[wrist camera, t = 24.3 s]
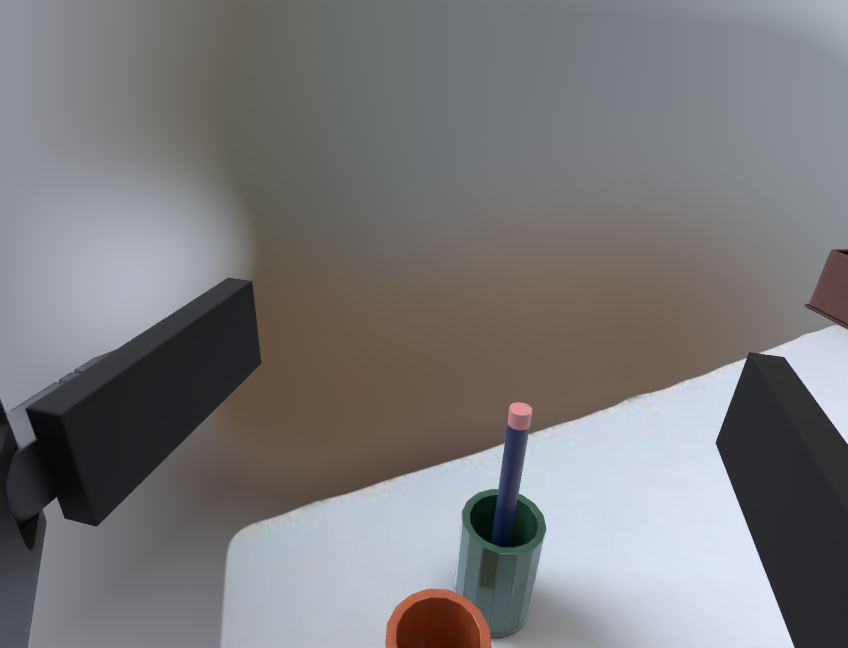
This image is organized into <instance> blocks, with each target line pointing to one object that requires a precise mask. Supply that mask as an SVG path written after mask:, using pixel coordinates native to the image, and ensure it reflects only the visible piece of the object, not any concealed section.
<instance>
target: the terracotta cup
mask: <svg viewBox="0 0 848 648" xmlns="http://www.w3.org/2000/svg"><path fill="white" fill-rule="evenodd" d="M385 648H491V640H490V629H489V627H488V625H487V623H486V621H485V619H484V617H483V615H482V613H481V611H480V610H479V609H478V608H477V607H476V606H475V605H473V604H472V603H471V602H470V601H469V600H468V599H467V598H465V597H464V596H461V595H459V594H457V593H454V592H452V591H449V590H443V589H427V590H424V591H421V592H418V593H415V594H412V595H410V596H409V597H407V598H406V599H405V600H404V601H403V602H401V603H400V604H399V605H398V606H397V607H396V608H395V610H394V612H393V613H392V615H391V617H390V619H389V621H388V623H387V630H386V642H385Z"/></svg>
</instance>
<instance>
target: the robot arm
mask: <svg viewBox="0 0 848 648" xmlns="http://www.w3.org/2000/svg"><path fill="white" fill-rule="evenodd" d="M260 364H261V357H260V348H259V339H258V330H257V321H256V311H255V302H254V293H253V284H252V281H247V280H240V279H233V278H227V279H225V280H224V281H222V282H221V283H219V284H218V285H217V286H215V287H213V288H211V289H210V290H208V291H207V292H205V293H204V294H202V295H201V296H199V297H197V298H196V299H194V300H193V301H191V302H190V303H188V304H187V305H185V306H184V307H182V308H181V309H179V310H177V311H176V312H174V313H173V314H171V315H169V316H168V317H167V318H165V319H163V320H162V321H160V322H159V323H157V324H156V325H154V326H152V327H151V328H149V329H148V330H146V331H145V332H143V333H142V334H140V335H138V336H137V337H135V338H134V339H132V340H131V341H129V342H127V343H126V344H124V345H123V346H121V347H120V348H118V349H117V350H114V351H111V352H108V353H106V354H103V355H101V356H98V357H95V358H93V359H91V360H90V361H88V362H87V363H85V364H83V365H82V366H80V367H79V368H77V369H75V371H74V373H69V374H67V375H66V376H64V377H63V378H61V379H60V380H59V382H58V383H57V382H55V383H53V384H52V385H50V386H48V387H47V388H45V389H44V390H42V391H40V392H39V393H38V394H36V395H34V396H32V397H31V398H29V399H28V400H26V401H25V402H23V403H21V404H20V405H18V406H17V407H15V408H14V409H12V410H10V411H9V412H7V413H6V412H5V410H4V407H3V404H2V402H1V399H0V648H28V641H29V634H30V628H31V621H32V615H33V608H34V601H35V595H36V588H37V582H38V575H39V569H40V561H41V556H42V548H43V542H44V536H45V529H46V518H45V514H44V512H43V508H44V507H45V506H47V505H48V504H49V503H50V502H51V501H52V500H54V499H55V498H56V497H57V498H58V501H59V504H60V507H61V509H62V512H63V515H64V518H65V519H69V520H73V521H77V522H81V523H84V524H88V525H93V526H98V525H99V524H100V523H101V522H102V521H103V520H104V519H105V518H106V517H107V516H108V515H109V514H110V513H111V512H112V511H113V510H114V509H115V508H116V507H117V506H118V505H119V504H120V503H121V502H122V501H123V500H124V499H125V498H126V497H127V496H128V495H129V494H130V493H131V492H132V491H133V490H134V489H135V488H136V487H137V486H138V485H139V484H140V483H141V482H142V481H143V480H144V479H145V478H146V477H147V476H148V475H149V474H150V473H151V472H152V471H153V470H154V469H155V468H156V467H157V466H158V465H159V464H160V463H161V462H162V461H163V460H164V459H165V458H166V457H167V456H168V455H169V454H170V453H171V452H172V451H173V450H175V448H177V446H179V444H180V443H182V442H183V441H184V440H185V439H186V437H188V436H189V435H190V434H191V433H192V432H193V431H194V430H195V429H196V428H197V427H198V426H199V425H200V424H201V423H202V422H203V421H204V420H205V419H206V418H207V417H208V416H209V415H210V414H211V413H212V412H213V411H214V410H215V409H216V408H217V407H218V406H219V405H220V404H221V403H222V402H223V401H224V400H225V399H226V398H227V397H228V396H229V395H230V394H231V393H232V392H233V391H234V390H235V389H236V388H237V387H238V386H239V385H240V384H241V383H242V382H243V381H244V380H245V379H246V378H247V377H248V376H249V375H250V374H251V373H252V372H253V371H254V370H255V369H256V368H257V367H258V366H259V365H260ZM716 445H717V448H718V450H719V453H720V455H721V458H722V461H723V463H724V466H725V468H726V471H727V474H728V476H729V479H730V481H731V484H732V487H733V489H734V492H735V494H736V497H737V500H738V502H739V505H740V507H741V510H742V512H743V515H744V518H745V520H746V523H747V525H748V528H749V531H750V533H751V536H752V538H753V541H754V544H755V546H756V549H757V551H758V554H759V557H760V559H761V562H762V564H763V567H764V569H765V572H766V575H767V577H768V580H769V582H770V585H771V588H772V590H773V593H774V595H775V598H776V601H777V603H778V606H779V608H780V611H781V614H782V616H783V619H784V621H785V624H786V626H787V629H788V632H789V634H790V637H791V639H792V642H793V645H794V647H795V648H848V444H847V443H846V441H845V440H844V439H843V437H842V436H841V435H840V433H839V432H838V430H837V429H836V428H835V426H834V425H833V424H832V422H831V421H830V419H829V418H828V417H827V415H826V414H825V413H824V411H823V410H822V408H821V407H820V406H819V404H818V403H817V402H816V400H815V399H814V397H813V396H812V395H811V393H810V392H809V391H808V389H807V388H806V386H805V385H804V384H803V382H802V381H801V380H800V378H799V377H798V375H797V374H796V373H795V371H794V370H793V369H792V367H791V366H790V364H789V363H788V362H787V360H786V359H785V358H784V357H779V356H772V355H765V354H758V353H751V352H749V354H748V357H747V360H746V362H745V365H744V368H743V370H742V373H741V376H740V378H739V381H738V384H737V386H736V389H735V392H734V395H733V397H732V400H731V403H730V405H729V408H728V411H727V413H726V416H725V419H724V422H723V424H722V427H721V430H720V432H719V435H718V438H717V440H716Z"/></svg>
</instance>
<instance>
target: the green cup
mask: <svg viewBox="0 0 848 648" xmlns="http://www.w3.org/2000/svg"><path fill="white" fill-rule="evenodd" d="M497 497H498V490H496V489H491V490H487V491H483V492H479V493H477V494H476V495H475V496H473V497H472V498H471V499H469V500H468V501H467V503H466V505H465V507H464V509H463V511H462V516H461V526H460V536H459V546H458V556H457V566H456V576H455V586H454V593H457V594H459V595H461V596H464V597H465V598H467V599H468V600H469V601H470V602H471V603H472V604H473V605H475V606H476V607H477V608H478V609H479V610H480V611H481V613H482V615H483V617H484V619H485V621H486V623H487V625H488V627H489V629H490V637H506V636H509V635H512V634H514V633H515V632H517V631H518V630H520V629H521V628H522V627H523V625H524V624H525V622H526V621H527V618H528V615H529V610H530V607H531V603H532V598H533V593H534V588H535V583H536V578H537V573H538V568H539V563H540V558H541V553H542V548H543V543H544V538H545V534H546V524H545V520H544V516H543V514H542V513H541V512H540V510H539V509H538V508H537V506H536V505H535V504H534V503H533V502H532V501H530V500H529V499H527V498H526V497H524V496H523V495H520V494H518V500H517V506H516V512H515V518H514V525H513V531H512V537H511V543H510V547H499V546H497V545H494V544H491V540H492V532H493V525H494V518H495V511H496V504H497Z"/></svg>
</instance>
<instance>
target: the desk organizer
mask: <svg viewBox="0 0 848 648" xmlns="http://www.w3.org/2000/svg"><path fill="white" fill-rule="evenodd" d="M804 306H805V307H807V308H809V309H811V310H813V311H815V312H816V313H818V314H821V315H822V316H824V317H826V318H828V319H830V320H832V321H834V322H835V323H837V324H839V325H841V326H843V327H845V328H847V329H848V249H839V250H838V249H837V250H831V251H830V254H829V256H828V259H827V261H826V264H825V266H824V269H823V271H822V274H821V276H820V278H819V281H818V283H817V286H816V288H815V291H814V293H813V296H812V298H811V301H810V303H809V304H805V305H804Z"/></svg>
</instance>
